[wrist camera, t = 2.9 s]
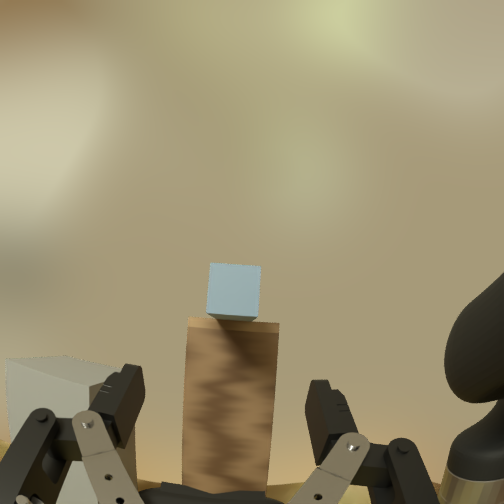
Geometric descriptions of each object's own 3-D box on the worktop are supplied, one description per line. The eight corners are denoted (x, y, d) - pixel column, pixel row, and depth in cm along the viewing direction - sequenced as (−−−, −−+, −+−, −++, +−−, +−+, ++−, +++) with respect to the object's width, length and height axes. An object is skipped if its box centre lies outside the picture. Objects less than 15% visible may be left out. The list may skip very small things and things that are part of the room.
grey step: (142, 530, 24) (135, 371, 31) (116, 578, 13) (89, 386, 19) (78, 510, 24) (65, 355, 31) (40, 546, 12) (5, 358, 19)
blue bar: (247, 324, 43) (248, 301, 44) (257, 316, 20) (260, 266, 21) (223, 323, 43) (225, 299, 44) (206, 312, 20) (210, 262, 21)
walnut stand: (253, 522, 31) (269, 325, 39) (257, 560, 21) (279, 323, 29) (193, 518, 30) (200, 320, 39) (184, 555, 21) (188, 316, 29)
